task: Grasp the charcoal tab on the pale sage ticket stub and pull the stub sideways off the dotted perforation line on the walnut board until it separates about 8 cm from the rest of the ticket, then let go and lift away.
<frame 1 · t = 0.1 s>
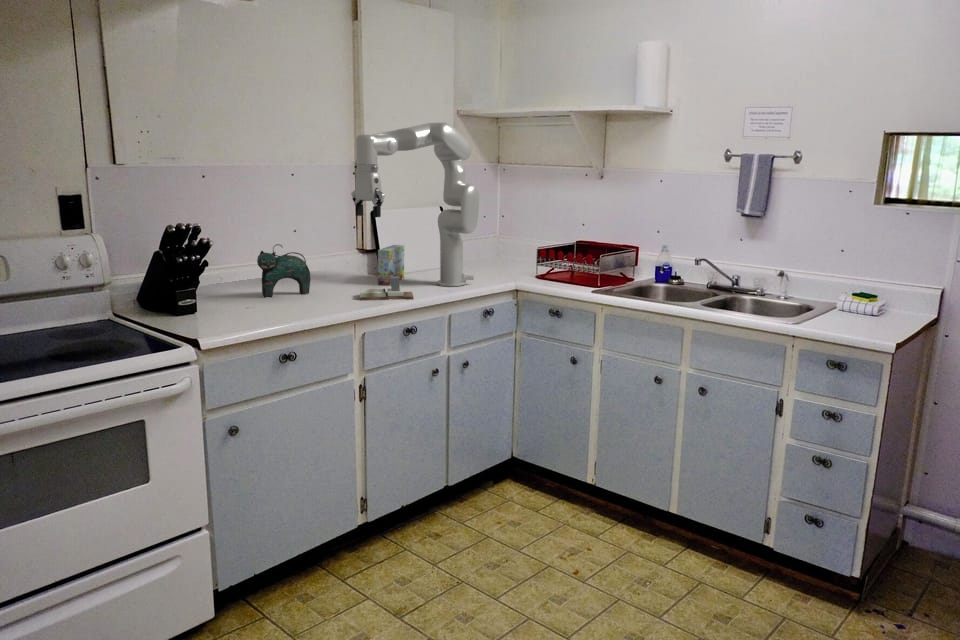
hand: (368, 216, 271), 31 cm above the worktop, tool pointing down, fingers open, 9 cm apart
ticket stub: (395, 285, 280), point 4 cm above the worktop, slide at 0.0 cm
ceramic cat: (284, 295, 282), on the worktop
snack box: (391, 282, 317), on the worktop
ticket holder: (386, 297, 280), on the worktop
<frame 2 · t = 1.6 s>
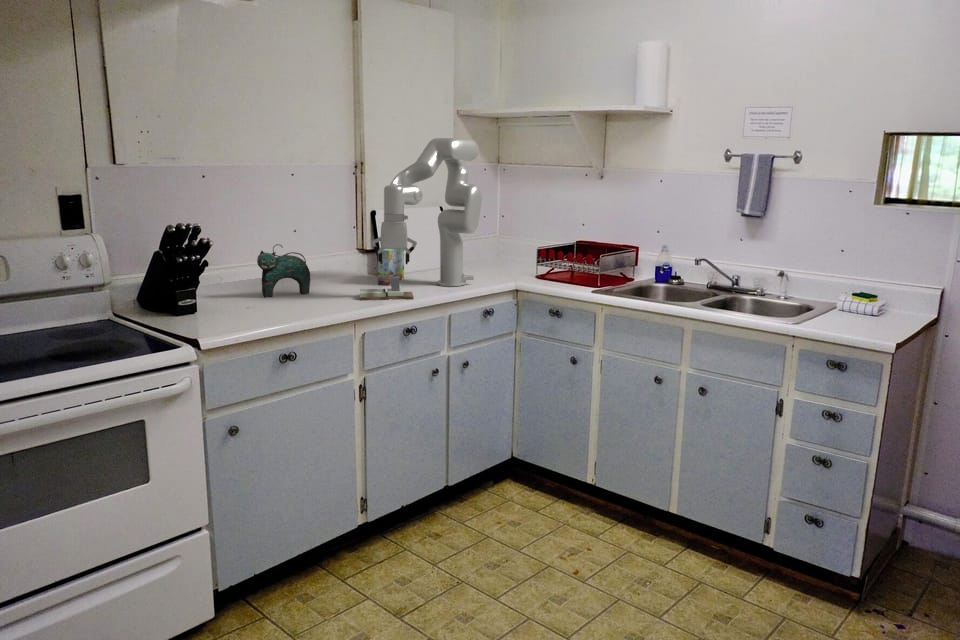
hand: (393, 263, 277), 13 cm above the worktop, tool pointing down, fingers open, 9 cm apart
nothing on the worktop moved.
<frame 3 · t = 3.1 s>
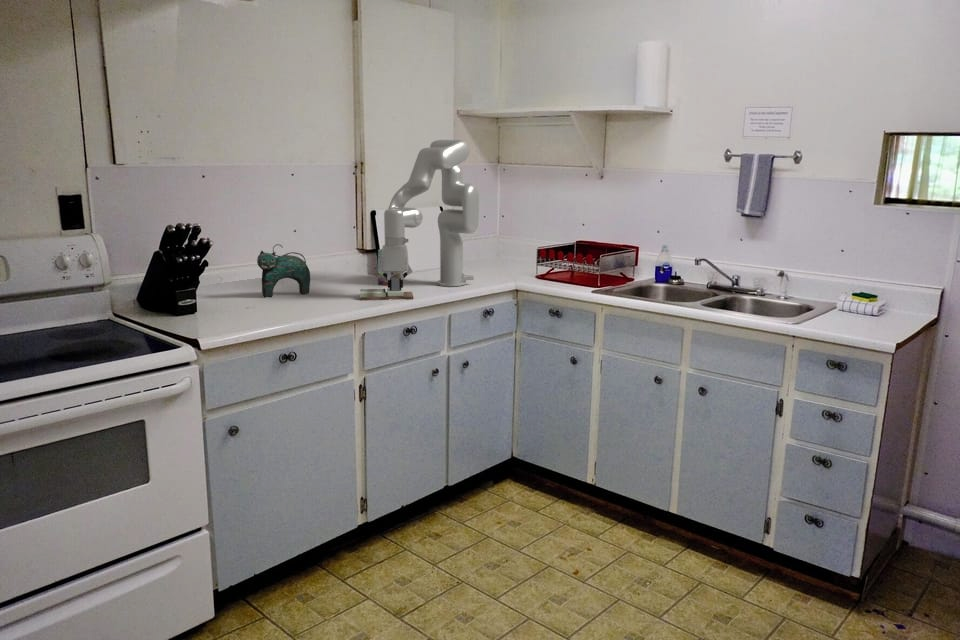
hand: (395, 289, 280), 3 cm above the worktop, tool pointing down, fingers closed on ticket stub, 3 cm apart
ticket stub: (395, 285, 280), point 4 cm above the worktop, slide at 0.0 cm, touching gripper
everything else where it was.
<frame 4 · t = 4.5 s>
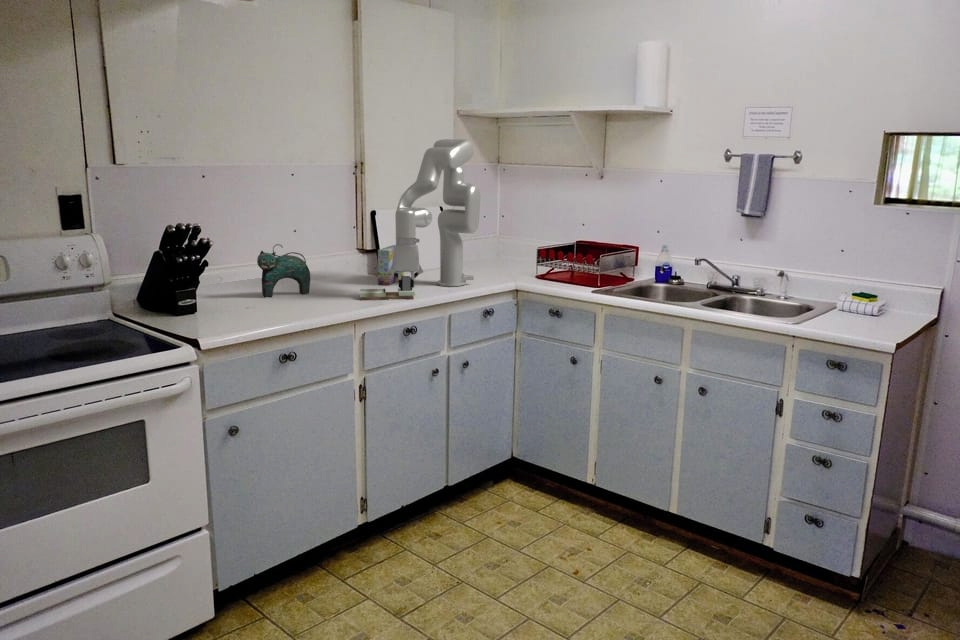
hand: (406, 289, 281), 3 cm above the worktop, tool pointing down, fingers closed on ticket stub, 3 cm apart
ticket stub: (406, 285, 280), point 4 cm above the worktop, slide at 4.2 cm, touching gripper
everything else where it was.
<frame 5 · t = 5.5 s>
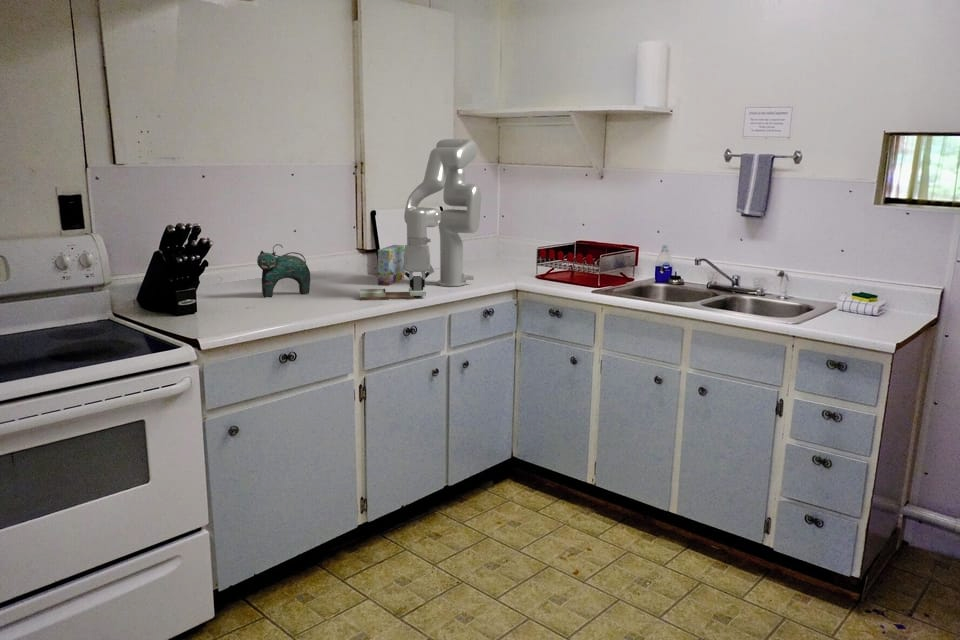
hand: (417, 288, 281), 3 cm above the worktop, tool pointing down, fingers closed on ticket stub, 3 cm apart
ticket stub: (417, 285, 281), point 4 cm above the worktop, slide at 8.4 cm, touching gripper
everything else where it was.
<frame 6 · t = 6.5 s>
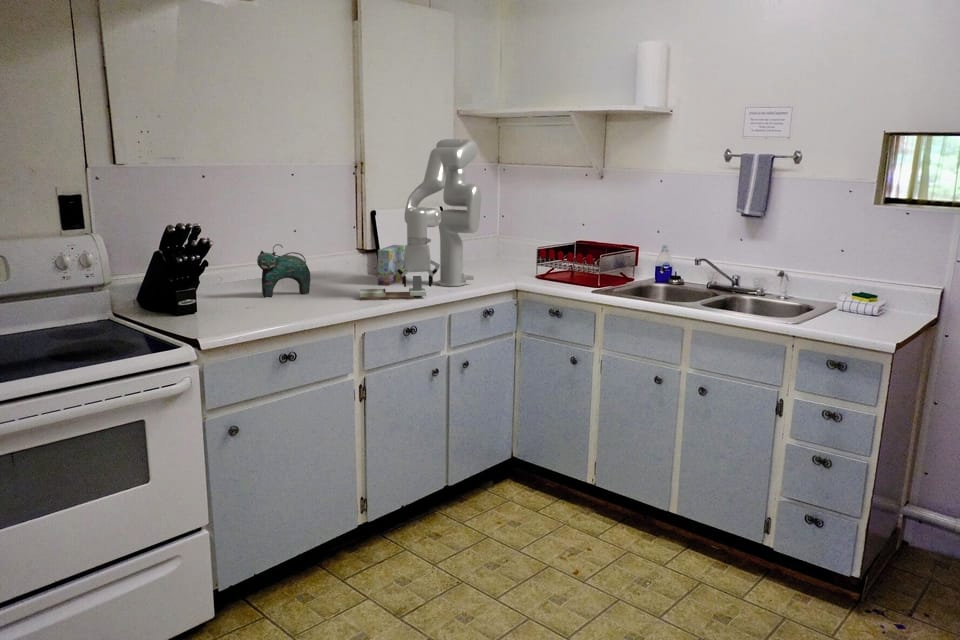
hand: (417, 286, 281), 4 cm above the worktop, tool pointing down, fingers open, 9 cm apart
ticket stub: (417, 285, 281), point 4 cm above the worktop, slide at 8.4 cm
everything else where it was.
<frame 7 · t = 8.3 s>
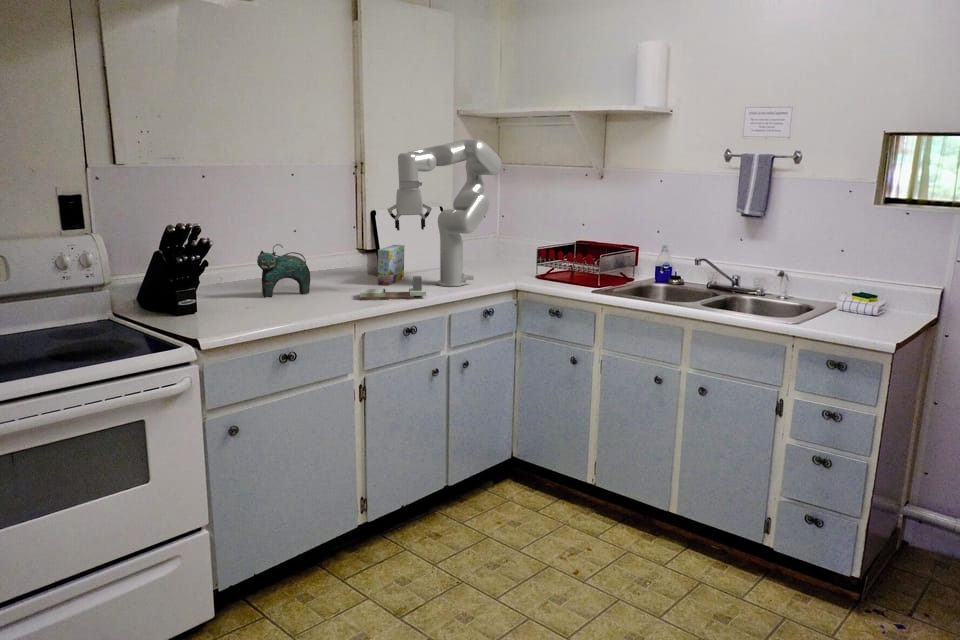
hand: (410, 229, 287), 25 cm above the worktop, tool pointing down, fingers open, 9 cm apart
nothing on the worktop moved.
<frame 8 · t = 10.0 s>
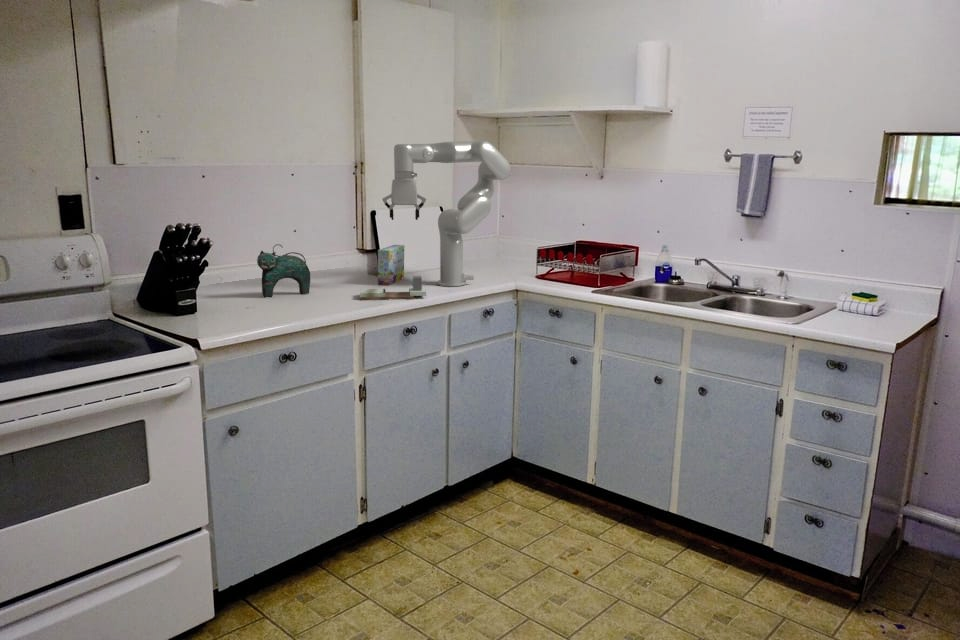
hand: (404, 219, 292), 28 cm above the worktop, tool pointing down, fingers open, 9 cm apart
nothing on the worktop moved.
at the end: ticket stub slide at 8.4 cm; the gripper is holding nothing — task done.
